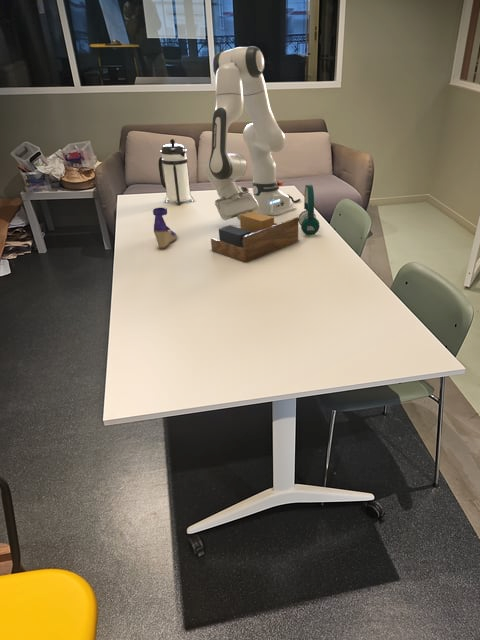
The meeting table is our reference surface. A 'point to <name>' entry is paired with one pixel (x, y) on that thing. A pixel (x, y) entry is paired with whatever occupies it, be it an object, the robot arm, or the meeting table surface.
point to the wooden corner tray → (260, 241)
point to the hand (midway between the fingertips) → (247, 222)
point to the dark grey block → (233, 235)
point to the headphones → (309, 213)
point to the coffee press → (175, 172)
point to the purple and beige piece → (162, 229)
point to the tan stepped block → (255, 221)
